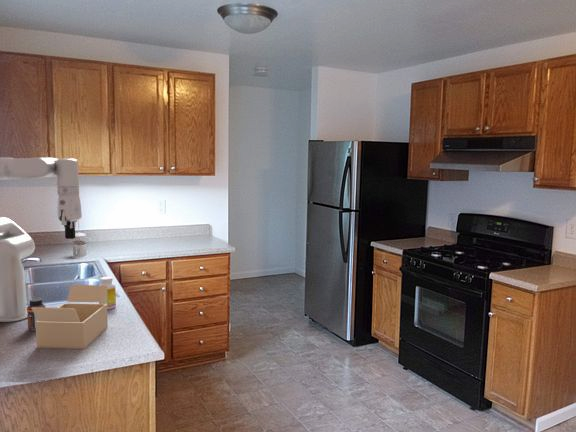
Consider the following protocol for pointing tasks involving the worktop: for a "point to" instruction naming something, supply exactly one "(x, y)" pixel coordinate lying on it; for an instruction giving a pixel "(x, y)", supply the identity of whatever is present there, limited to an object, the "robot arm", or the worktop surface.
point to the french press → (79, 246)
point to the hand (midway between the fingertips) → (70, 238)
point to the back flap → (87, 293)
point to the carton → (73, 328)
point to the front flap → (56, 314)
